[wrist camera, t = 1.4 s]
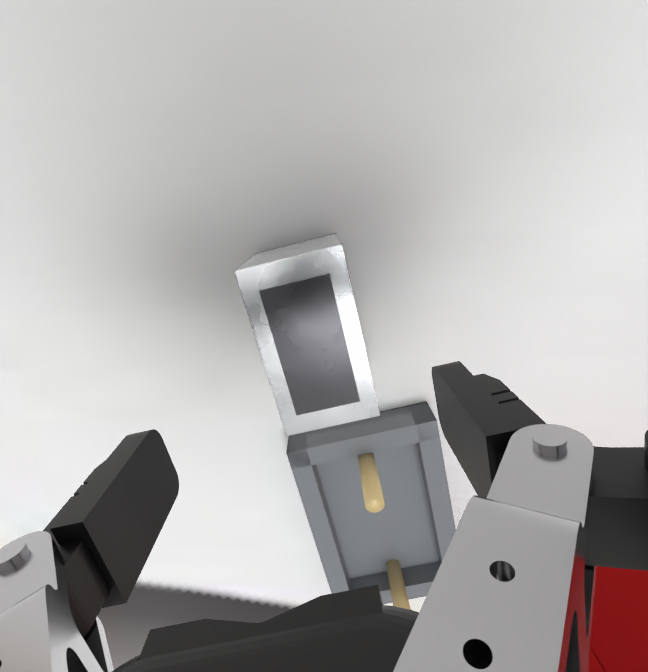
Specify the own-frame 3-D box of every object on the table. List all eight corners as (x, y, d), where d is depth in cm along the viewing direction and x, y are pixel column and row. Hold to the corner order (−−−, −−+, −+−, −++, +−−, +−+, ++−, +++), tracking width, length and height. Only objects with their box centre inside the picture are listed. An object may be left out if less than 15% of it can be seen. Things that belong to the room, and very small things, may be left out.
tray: (426, 401, 25) (457, 458, 19) (455, 560, 29) (486, 644, 23) (289, 432, 25) (280, 496, 20) (336, 583, 30) (340, 670, 24)
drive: (335, 233, 22) (342, 244, 16) (365, 365, 24) (380, 416, 18) (256, 253, 22) (233, 271, 16) (294, 381, 24) (286, 437, 19)
